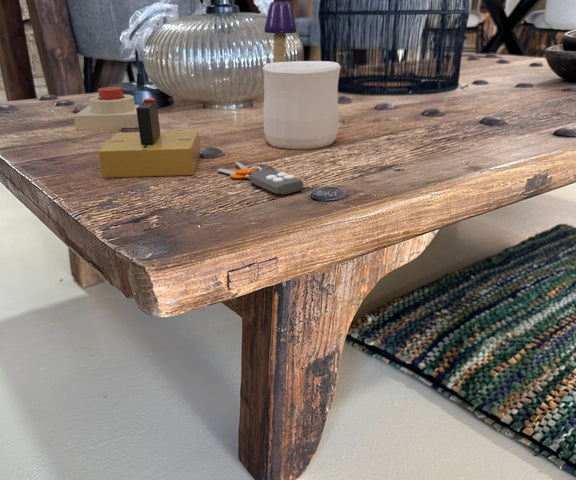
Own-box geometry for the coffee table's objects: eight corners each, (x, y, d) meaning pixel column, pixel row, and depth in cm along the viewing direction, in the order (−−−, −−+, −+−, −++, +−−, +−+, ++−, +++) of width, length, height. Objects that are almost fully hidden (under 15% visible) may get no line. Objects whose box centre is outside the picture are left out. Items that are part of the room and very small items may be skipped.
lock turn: (153, 144, 64) (148, 105, 62) (140, 145, 64) (135, 105, 62) (160, 134, 68) (156, 97, 66) (148, 135, 68) (144, 98, 66)
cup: (251, 140, 78) (247, 63, 73) (311, 130, 83) (311, 58, 78) (288, 154, 71) (287, 71, 66) (351, 142, 76) (354, 64, 71)
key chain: (307, 190, 58) (307, 176, 57) (278, 198, 56) (277, 183, 55) (237, 164, 67) (236, 151, 66) (210, 170, 65) (209, 157, 64)
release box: (76, 130, 85) (71, 103, 84) (90, 120, 92) (85, 94, 91) (143, 128, 86) (139, 101, 84) (152, 118, 93) (148, 92, 91)
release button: (97, 102, 86) (95, 90, 85) (102, 98, 89) (101, 87, 88) (121, 102, 86) (119, 90, 85) (126, 98, 89) (124, 86, 88)
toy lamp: (276, 117, 92) (273, 1, 84) (302, 119, 90) (301, 1, 82) (261, 122, 88) (256, 2, 81) (287, 125, 86) (285, 1, 79)
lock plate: (102, 178, 63) (97, 149, 62) (120, 156, 71) (116, 131, 70) (193, 175, 63) (190, 147, 62) (200, 154, 72) (198, 128, 70)
